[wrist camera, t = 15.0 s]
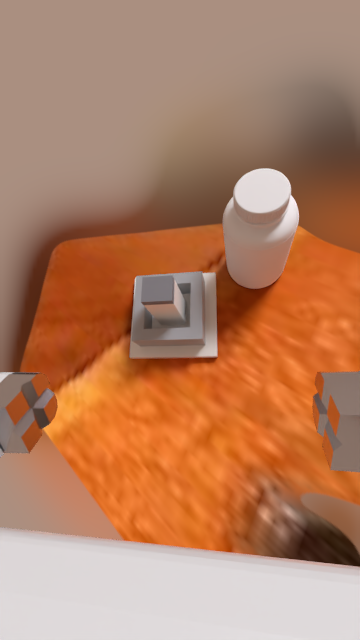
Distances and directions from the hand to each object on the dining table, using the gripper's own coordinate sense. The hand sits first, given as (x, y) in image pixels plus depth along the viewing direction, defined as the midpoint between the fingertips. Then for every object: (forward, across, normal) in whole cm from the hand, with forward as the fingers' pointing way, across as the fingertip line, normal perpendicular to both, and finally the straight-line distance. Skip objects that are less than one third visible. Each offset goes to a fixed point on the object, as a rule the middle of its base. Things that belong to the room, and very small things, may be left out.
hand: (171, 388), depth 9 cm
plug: (+29, +6, +12) cm, 31 cm away
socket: (+29, +6, +12) cm, 32 cm away
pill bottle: (+35, -5, +7) cm, 36 cm away
